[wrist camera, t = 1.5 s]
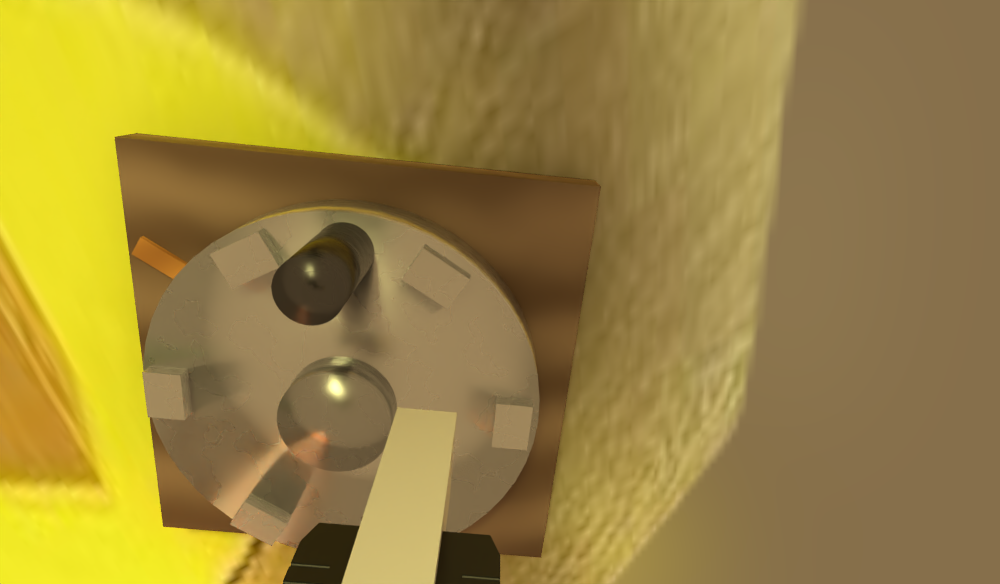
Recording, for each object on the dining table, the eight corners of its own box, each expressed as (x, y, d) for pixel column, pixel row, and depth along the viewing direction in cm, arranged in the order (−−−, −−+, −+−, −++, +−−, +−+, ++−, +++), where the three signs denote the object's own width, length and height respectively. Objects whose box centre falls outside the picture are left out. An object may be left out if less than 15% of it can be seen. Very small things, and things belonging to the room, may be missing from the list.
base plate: (136, 133, 33) (110, 137, 31) (595, 180, 34) (601, 187, 32) (178, 506, 42) (160, 529, 40) (539, 536, 43) (541, 560, 41)
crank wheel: (515, 535, 40) (519, 659, 31) (188, 508, 39) (101, 627, 31) (559, 220, 32) (580, 272, 24) (153, 179, 31) (26, 217, 23)
